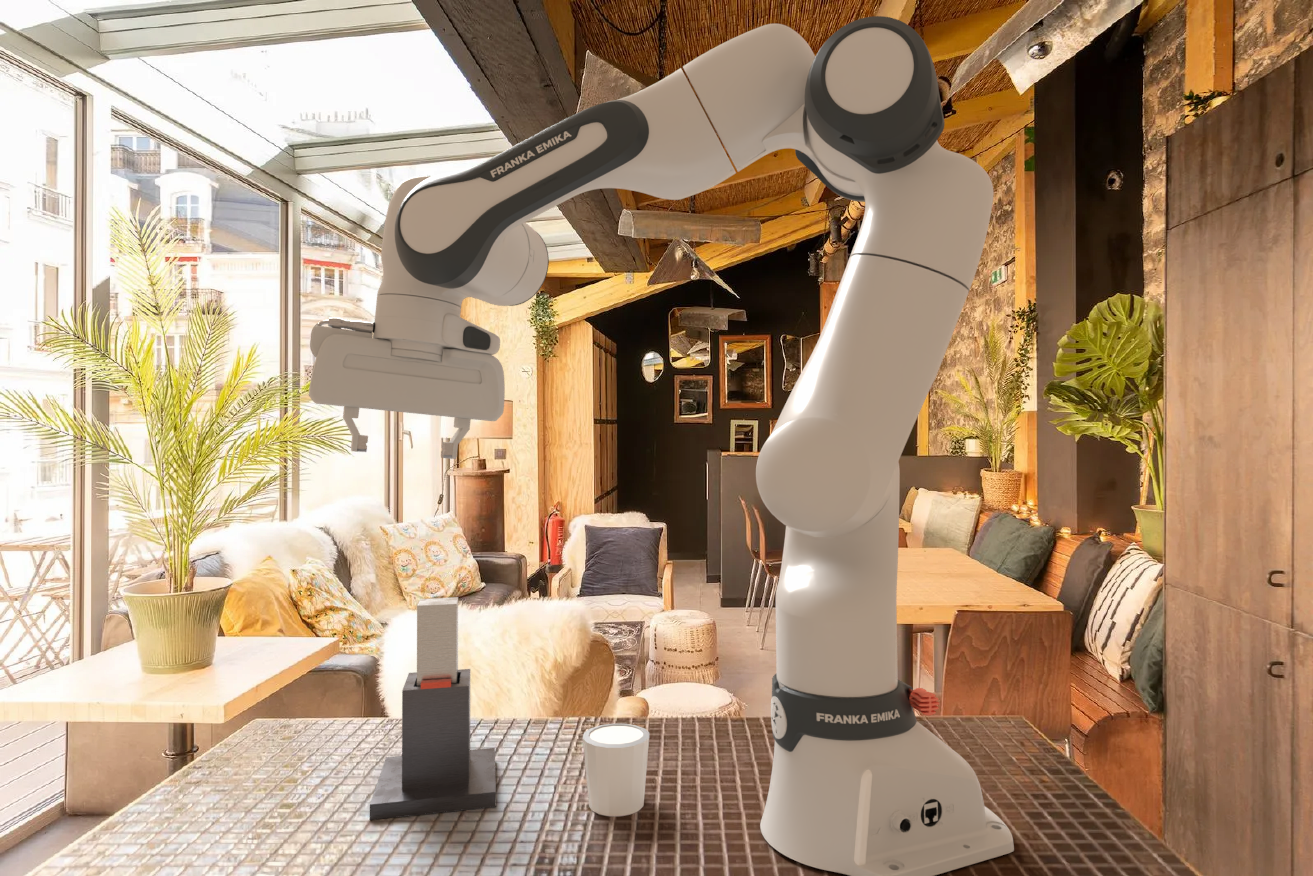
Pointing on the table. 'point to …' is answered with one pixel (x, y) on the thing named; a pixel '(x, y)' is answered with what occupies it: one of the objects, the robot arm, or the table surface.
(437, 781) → the sleeve stand
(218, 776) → the table surface
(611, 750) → the white tapered cup
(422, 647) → the steel post
